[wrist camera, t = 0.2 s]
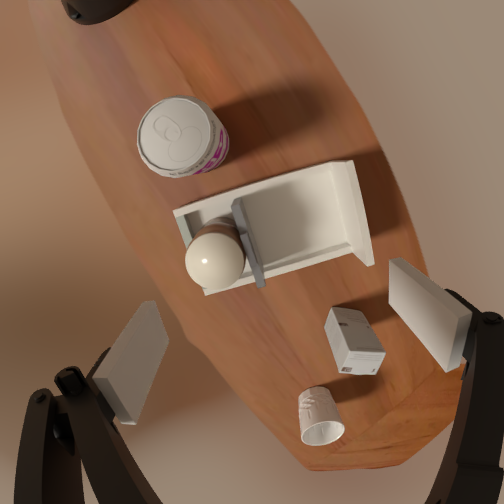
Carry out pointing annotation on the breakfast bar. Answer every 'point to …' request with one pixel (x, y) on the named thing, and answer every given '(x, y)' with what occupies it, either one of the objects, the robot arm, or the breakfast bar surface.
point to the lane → (292, 218)
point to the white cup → (319, 417)
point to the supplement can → (182, 137)
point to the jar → (216, 254)
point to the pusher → (248, 241)
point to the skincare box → (353, 342)
